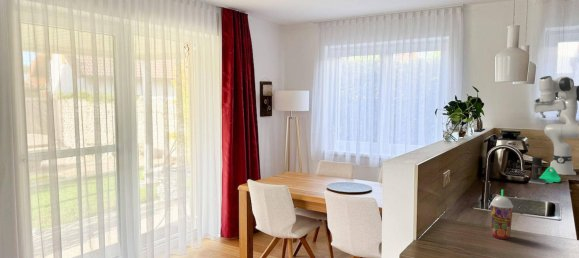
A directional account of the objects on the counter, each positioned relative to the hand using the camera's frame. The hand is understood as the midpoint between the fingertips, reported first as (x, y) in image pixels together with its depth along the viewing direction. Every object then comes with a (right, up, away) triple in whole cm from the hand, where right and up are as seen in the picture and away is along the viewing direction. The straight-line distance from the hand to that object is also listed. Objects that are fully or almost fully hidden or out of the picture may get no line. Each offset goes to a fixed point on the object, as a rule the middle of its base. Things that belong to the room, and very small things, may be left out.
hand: (551, 117), depth 280 cm
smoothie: (-102, -54, -118) cm, 165 cm away
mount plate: (-15, -46, -9) cm, 49 cm away
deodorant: (-6, -45, +7) cm, 46 cm away
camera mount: (-5, -46, -6) cm, 47 cm away
